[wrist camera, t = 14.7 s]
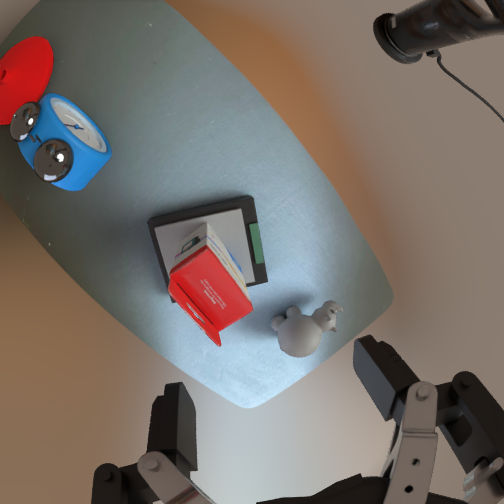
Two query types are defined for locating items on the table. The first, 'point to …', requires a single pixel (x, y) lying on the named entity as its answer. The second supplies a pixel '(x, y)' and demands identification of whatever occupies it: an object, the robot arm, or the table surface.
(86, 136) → the alarm clock
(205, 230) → the ink box
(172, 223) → the scale
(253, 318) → the table surface
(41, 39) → the flat cone with hole
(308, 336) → the round bodied animal figurine
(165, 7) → the table surface
